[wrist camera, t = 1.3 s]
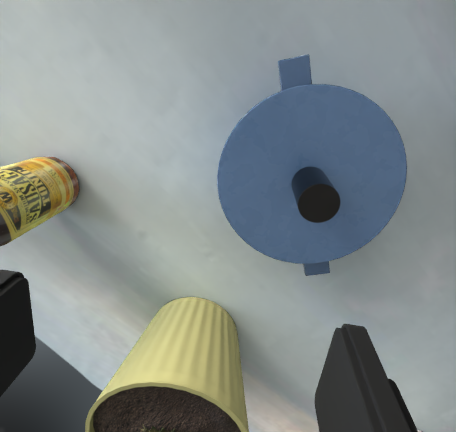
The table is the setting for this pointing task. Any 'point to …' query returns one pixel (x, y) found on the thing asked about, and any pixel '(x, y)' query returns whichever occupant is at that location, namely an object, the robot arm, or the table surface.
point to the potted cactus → (177, 376)
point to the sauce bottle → (33, 194)
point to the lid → (312, 173)
